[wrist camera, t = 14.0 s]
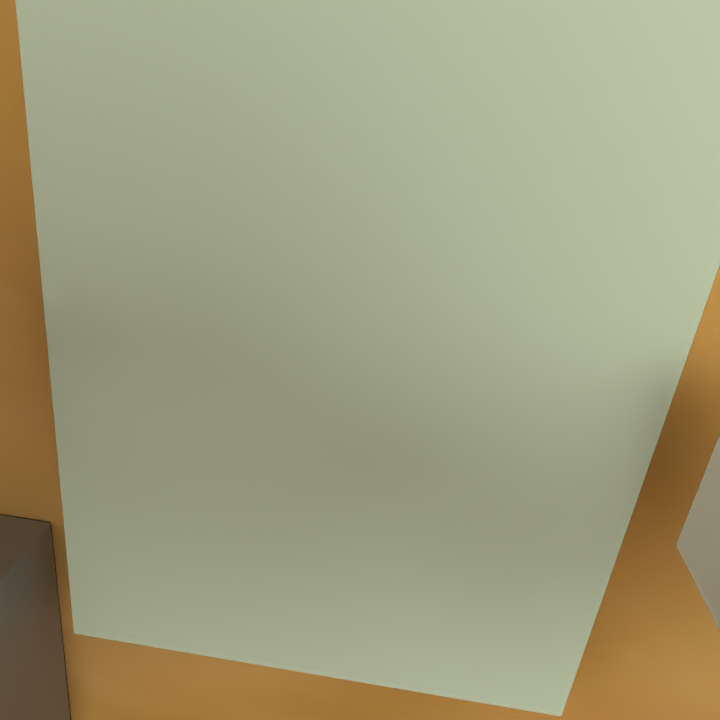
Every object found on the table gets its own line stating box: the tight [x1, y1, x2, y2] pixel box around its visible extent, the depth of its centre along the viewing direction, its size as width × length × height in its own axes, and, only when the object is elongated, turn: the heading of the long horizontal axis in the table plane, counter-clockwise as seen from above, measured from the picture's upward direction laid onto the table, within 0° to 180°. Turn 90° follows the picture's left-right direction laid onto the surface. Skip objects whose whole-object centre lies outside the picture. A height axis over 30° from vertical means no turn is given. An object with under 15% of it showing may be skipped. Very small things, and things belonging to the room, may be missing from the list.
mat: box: [15, 0, 720, 716], centre depth 15 cm, size 14×20×1 cm
